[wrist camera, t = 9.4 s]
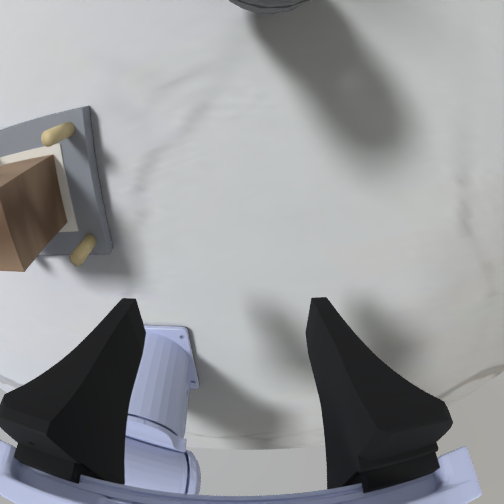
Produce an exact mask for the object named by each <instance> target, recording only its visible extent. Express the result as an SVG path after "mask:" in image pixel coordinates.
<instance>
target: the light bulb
mask: <svg viewBox="0 0 504 504" xmlns="http://www.w3.org/2000/svg"><path fill="white" fill-rule="evenodd" d="M229 1H230V2H232V3H234V4H235V5H237V6H239V7H241V8H243V9H246V10H249V11H252V12H255V13H271V14H274V13H278V12H283V11H288V10H293V9H294V8H296V7H298V6H300V5H302V4H303V3H305V2H307V1H309V0H229Z"/></svg>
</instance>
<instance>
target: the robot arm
mask: <svg viewBox="0 0 504 504" xmlns="http://www.w3.org/2000/svg"><path fill="white" fill-rule="evenodd" d="M182 335H183V336H182ZM306 340H307V347H308V354H309V359H310V362H311V366H312V370H313V374H314V378H315V382H316V386H317V390H318V394H319V398H320V403H321V409H322V417H323V425H324V435H325V446H326V461H327V490H320V491H313V492H304V493H295V494H283V495H268V496H208V495H199V491H200V483H201V473H200V467H199V464H198V461H197V460H196V458H195V456H194V454H193V453H192V452H191V451H188V450H186V439H184V435H185V429H186V419H187V409H188V400H189V391H190V389H198V388H199V381H198V376H197V372H196V367H195V363H194V358H193V353H192V349H191V344H190V339H189V334H188V330H187V329H186V328H185V327H179V326H149V325H143V321H142V318H141V315H140V311H139V308H138V305H137V301H136V299H128V298H123V299H122V300H121V301H120V302H119V303H118V304H117V305H116V306H115V307H114V308H113V309H112V310H111V311H110V313H109V314H108V315H107V316H106V317H105V318H104V319H103V320H102V321H101V322H100V324H99V325H98V326H97V327H96V328H95V329H94V330H93V331H92V332H91V333H90V334H89V335H88V336H87V337H86V338H85V339H84V340H83V341H82V342H81V343H80V344H79V345H78V346H77V347H76V348H75V349H74V350H73V351H71V352H70V353H69V354H68V355H67V356H66V357H64V358H63V359H62V360H61V361H60V362H58V363H57V364H55V365H54V366H53V367H51V368H50V369H49V370H47V371H46V372H44V373H43V374H41V375H40V376H38V377H37V378H35V379H34V380H32V381H30V382H28V383H27V384H25V385H23V386H21V387H19V388H17V389H15V390H13V391H11V392H9V393H6V394H5V395H4V397H3V399H2V401H1V404H0V427H1V428H2V429H3V430H4V431H5V432H6V433H7V434H8V435H9V436H11V437H12V438H13V439H14V440H15V441H17V442H18V445H17V448H15V447H14V446H12V445H10V444H8V443H6V442H4V441H2V440H0V495H1V496H3V497H5V498H7V499H9V500H10V501H12V502H14V503H16V504H467V503H468V502H470V501H472V500H474V499H476V498H478V497H480V496H481V495H482V492H481V488H480V485H479V482H478V479H477V476H476V473H475V469H474V467H473V463H472V461H471V458H470V455H469V452H468V449H467V447H466V446H463V447H461V448H458V449H456V450H453V451H451V452H448V453H446V454H444V455H442V456H440V457H438V458H437V456H436V453H435V452H436V451H438V446H437V443H436V441H438V440H439V439H440V438H441V437H442V436H443V435H444V434H445V433H446V432H447V431H448V430H449V429H450V428H451V426H452V424H453V421H452V418H451V416H450V413H449V410H448V408H447V406H446V404H445V402H444V401H442V400H440V399H438V398H436V397H434V396H432V395H430V394H428V393H426V392H425V391H423V390H421V389H420V388H418V387H416V386H415V385H413V384H411V383H410V382H408V381H407V380H406V379H404V378H403V377H401V376H400V375H399V374H397V373H396V372H395V371H393V370H392V369H391V368H390V367H388V366H387V365H386V364H385V363H384V362H382V361H381V360H380V359H379V358H378V357H377V356H376V355H375V354H374V353H373V352H372V351H371V350H370V349H369V348H368V347H367V346H366V345H365V344H364V343H363V342H362V341H361V340H360V339H359V337H358V336H357V335H356V334H355V333H354V332H353V330H352V329H351V328H350V327H349V326H348V325H347V323H346V322H345V321H344V320H343V318H342V317H341V316H340V314H339V313H338V312H337V311H336V309H335V308H334V307H333V305H332V304H331V303H330V301H329V300H328V299H327V298H326V297H321V298H311V304H310V310H309V316H308V322H307V328H306Z"/></svg>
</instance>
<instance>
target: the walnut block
mask: <svg viewBox="0 0 504 504" xmlns="http://www.w3.org/2000/svg"><path fill="white" fill-rule="evenodd" d="M66 223H67V218H66V214H65V210H64V205H63V201H62V196H61V192H60V187H59V182H58V177H57V172H56V166H55V161H54V155H53V154H52V155H47V156H41V157H36V158H31V159H26V160H22V161H17V162H13V163H8V164H4V165H2V166H1V167H0V271H18V272H25V270H26V269H27V268H28V267H29V265H30V264H31V263H32V262H33V261H34V259H35V258H36V257H37V256H38V255H39V253H40V252H41V251H42V250H43V249H44V248H45V247H46V245H47V244H48V243H49V242H50V241H51V240H52V239H53V238H54V236H55V235H56V234H57V233H58V232H59V231H60V230H61V229H62V228H63V227H64V226H65V225H66Z"/></svg>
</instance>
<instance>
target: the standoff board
mask: <svg viewBox="0 0 504 504" xmlns="http://www.w3.org/2000/svg"><path fill="white" fill-rule="evenodd" d="M52 154H53V155H54V161H55V166H56V172H57V177H58V182H59V187H60V192H61V196H62V201H63V205H64V210H65V214H66V218H67V223H66V225H65V226H64V227H63V228H62V229H61V230H60V231H59V232H58V233H57V234H56V235H55V236H54V238H53V239H52V240H51V241H50V242H49V243H48V244H47V245H46V247H45V248H44V249H43V250H42V251H41V252H40V253H39V255H70V260H71V262H72V263H73V264H74V265H76V266H81V265H82V264H83V262H84V261H85V259H86V258H87V256H88V255H91V254H109V253H110V251H111V250H112V248H113V244H112V240H111V236H110V232H109V227H108V223H107V218H106V213H105V209H104V204H103V199H102V193H101V188H100V182H99V177H98V171H97V164H96V158H95V151H94V144H93V136H92V127H91V118H90V108H89V106H86V107H81V108H76V109H72V110H68V111H63V112H59V113H55V114H51V115H48V116H44V117H40V118H37V119H33V120H30V121H26V122H23V123H20V124H17V125H14V126H11V127H8V128H5V129H2V130H0V167H1V166H2V165H4V164H8V163H13V162H17V161H22V160H26V159H31V158H36V157H41V156H47V155H52Z"/></svg>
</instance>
